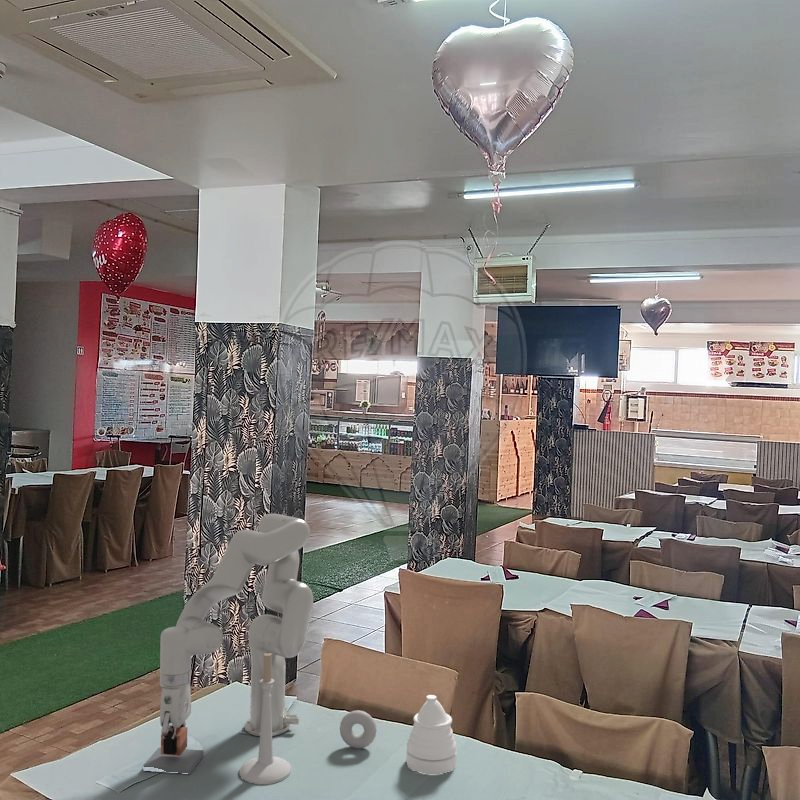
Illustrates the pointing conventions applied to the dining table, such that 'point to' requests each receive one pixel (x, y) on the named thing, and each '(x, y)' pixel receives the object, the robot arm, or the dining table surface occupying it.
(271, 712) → the robot arm
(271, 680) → the candlestick
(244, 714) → the dining table surface
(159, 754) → the slate board
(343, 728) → the donut
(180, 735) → the brown cube
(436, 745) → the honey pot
